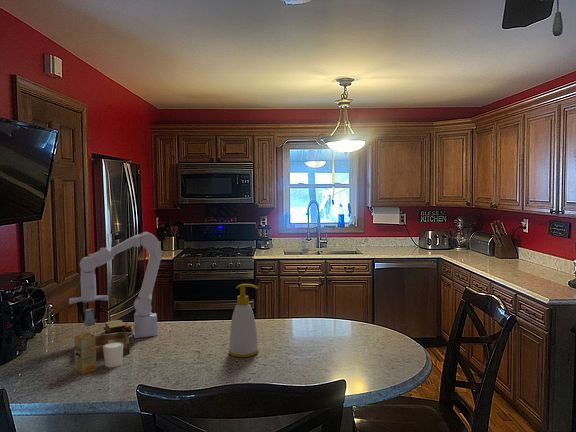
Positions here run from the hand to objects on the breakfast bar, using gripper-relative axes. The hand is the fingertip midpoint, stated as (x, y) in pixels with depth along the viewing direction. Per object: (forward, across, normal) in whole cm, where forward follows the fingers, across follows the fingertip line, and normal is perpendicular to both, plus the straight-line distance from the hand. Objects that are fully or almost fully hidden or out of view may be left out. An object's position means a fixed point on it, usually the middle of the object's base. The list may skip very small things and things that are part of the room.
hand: (89, 319), depth 186 cm
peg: (+2, 0, 0) cm, 2 cm away
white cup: (+10, +8, -30) cm, 33 cm away
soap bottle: (+10, +54, -38) cm, 67 cm away
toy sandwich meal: (+10, +11, +8) cm, 16 cm away
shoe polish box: (+10, -1, -32) cm, 33 cm away
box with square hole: (+10, +5, -13) cm, 17 cm away
